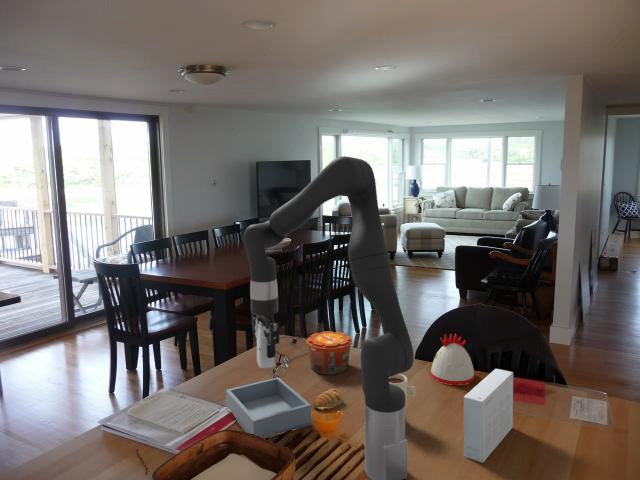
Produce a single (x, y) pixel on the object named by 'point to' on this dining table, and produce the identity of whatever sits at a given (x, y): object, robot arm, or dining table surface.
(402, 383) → the character mug
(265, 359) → the skincare box
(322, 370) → the food container
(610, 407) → the dining table surface
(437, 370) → the chicken hat
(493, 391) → the skincare box
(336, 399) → the pastry
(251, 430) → the tote
